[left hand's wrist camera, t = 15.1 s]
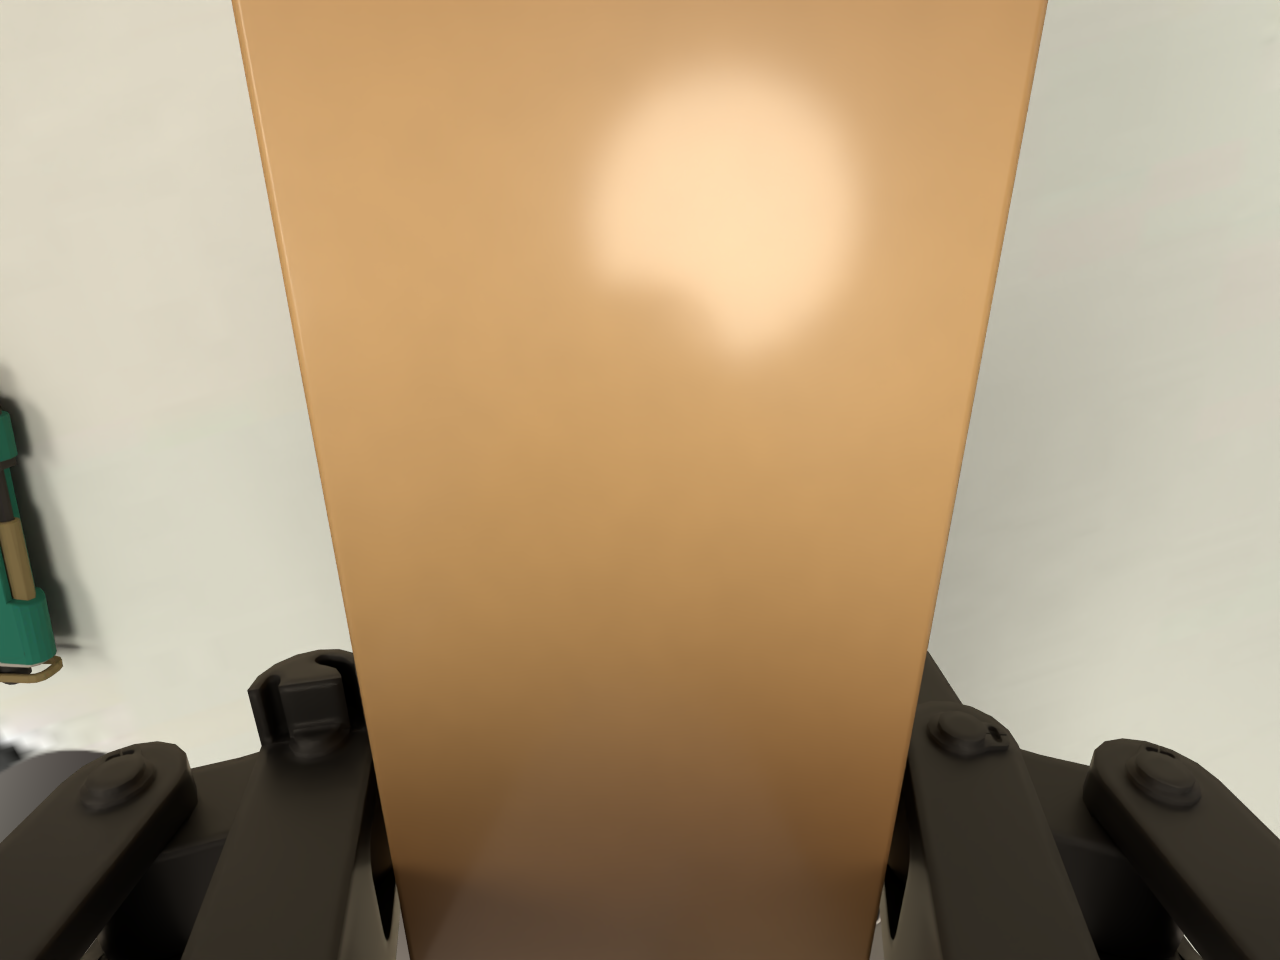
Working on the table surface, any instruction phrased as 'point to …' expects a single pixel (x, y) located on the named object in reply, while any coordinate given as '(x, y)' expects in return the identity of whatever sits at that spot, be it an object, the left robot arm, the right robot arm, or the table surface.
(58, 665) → the spray gun
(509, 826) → the bar
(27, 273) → the table surface
